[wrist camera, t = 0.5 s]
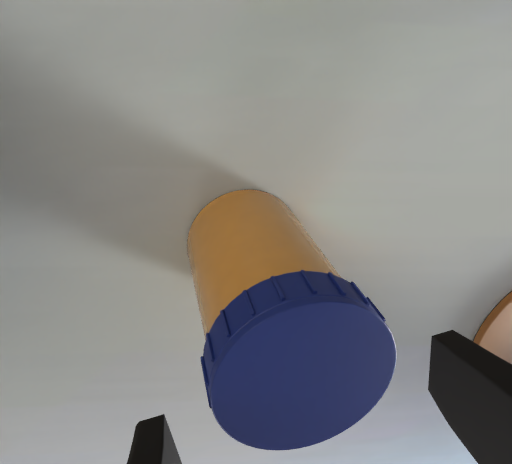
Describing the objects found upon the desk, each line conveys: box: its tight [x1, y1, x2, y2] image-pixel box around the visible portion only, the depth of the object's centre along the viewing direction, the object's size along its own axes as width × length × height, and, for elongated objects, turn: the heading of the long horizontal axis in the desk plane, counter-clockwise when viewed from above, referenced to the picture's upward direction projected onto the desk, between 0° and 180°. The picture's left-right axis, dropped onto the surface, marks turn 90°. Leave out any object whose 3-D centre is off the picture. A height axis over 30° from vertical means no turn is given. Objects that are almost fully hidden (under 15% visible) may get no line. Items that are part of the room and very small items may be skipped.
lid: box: [201, 270, 396, 450], centre depth 13 cm, size 6×6×2 cm
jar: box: [187, 190, 341, 340], centre depth 17 cm, size 5×5×8 cm
